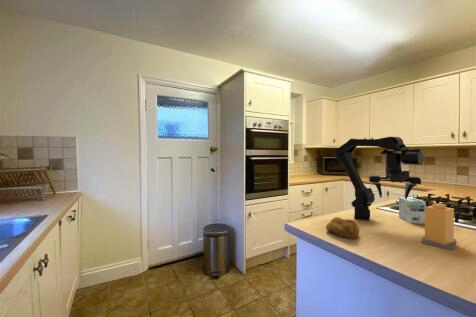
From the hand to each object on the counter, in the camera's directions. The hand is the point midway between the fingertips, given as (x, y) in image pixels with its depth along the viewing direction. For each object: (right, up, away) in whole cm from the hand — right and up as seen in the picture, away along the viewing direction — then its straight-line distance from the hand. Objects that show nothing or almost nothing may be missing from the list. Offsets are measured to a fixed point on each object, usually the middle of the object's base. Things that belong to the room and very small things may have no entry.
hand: (393, 198), depth 97 cm
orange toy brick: (+5, -13, -17) cm, 22 cm away
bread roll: (-27, -14, -8) cm, 31 cm away
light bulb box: (+15, -13, +8) cm, 22 cm away
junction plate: (+5, -13, -17) cm, 22 cm away
